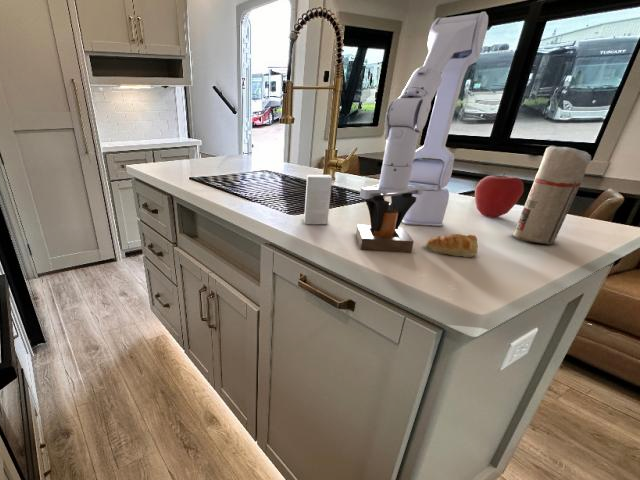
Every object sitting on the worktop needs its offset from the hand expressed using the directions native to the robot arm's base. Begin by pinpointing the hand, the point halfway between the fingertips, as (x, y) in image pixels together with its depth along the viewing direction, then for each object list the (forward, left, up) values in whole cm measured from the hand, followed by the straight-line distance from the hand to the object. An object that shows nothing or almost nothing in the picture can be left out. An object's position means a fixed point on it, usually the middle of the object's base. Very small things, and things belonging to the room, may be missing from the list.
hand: (384, 229), depth 80 cm
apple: (-34, -30, -3) cm, 45 cm away
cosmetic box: (+15, -14, -3) cm, 21 cm away
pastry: (-14, +3, -3) cm, 15 cm away
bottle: (0, 0, -2) cm, 2 cm away
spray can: (-35, -9, -3) cm, 36 cm away
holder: (0, 0, -3) cm, 3 cm away
